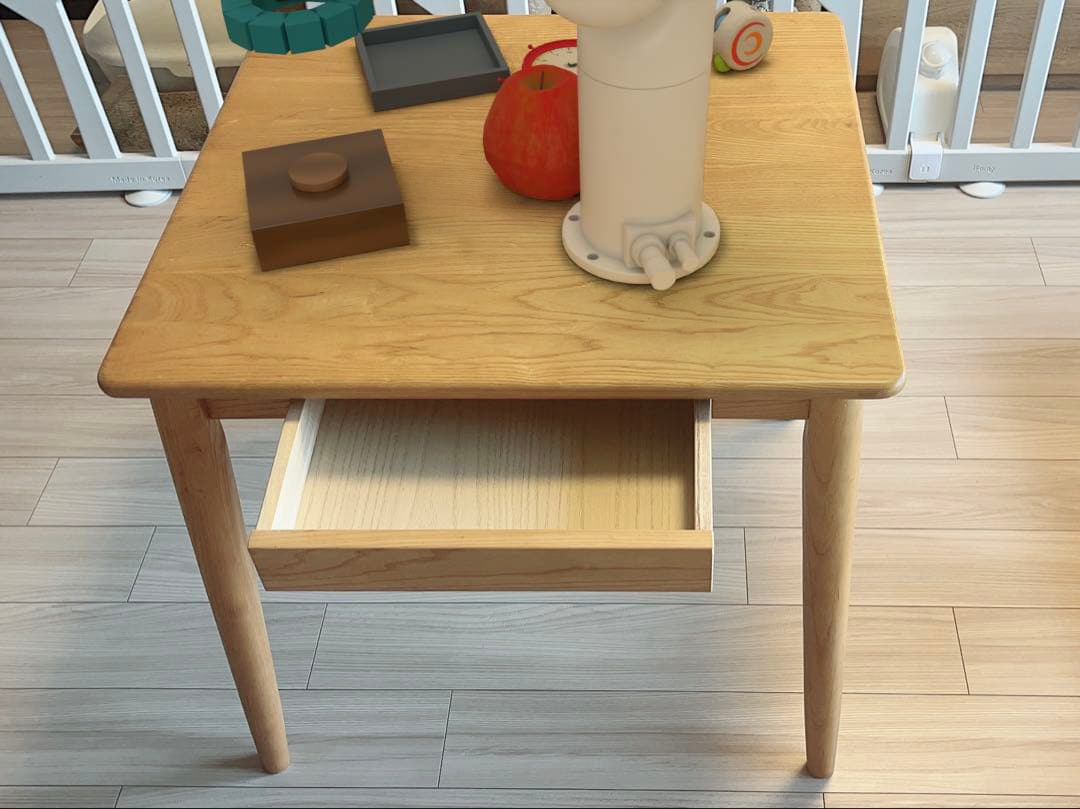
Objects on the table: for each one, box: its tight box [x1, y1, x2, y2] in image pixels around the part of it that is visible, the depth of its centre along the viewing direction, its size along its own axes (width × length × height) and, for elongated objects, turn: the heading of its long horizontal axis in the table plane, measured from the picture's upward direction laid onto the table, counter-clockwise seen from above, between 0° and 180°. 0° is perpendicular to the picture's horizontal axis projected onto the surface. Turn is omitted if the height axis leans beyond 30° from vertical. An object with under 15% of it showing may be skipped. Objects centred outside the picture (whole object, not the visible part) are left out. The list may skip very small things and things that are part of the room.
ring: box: [220, 0, 375, 56], centre depth 84 cm, size 11×11×2 cm
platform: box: [241, 128, 411, 272], centre depth 93 cm, size 12×12×5 cm
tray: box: [353, 10, 511, 112], centre depth 112 cm, size 13×13×2 cm
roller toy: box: [712, 0, 774, 73], centre depth 109 cm, size 4×6×6 cm
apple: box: [482, 64, 580, 201], centre depth 93 cm, size 10×10×10 cm
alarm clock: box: [498, 38, 577, 83], centre depth 105 cm, size 10×6×15 cm
